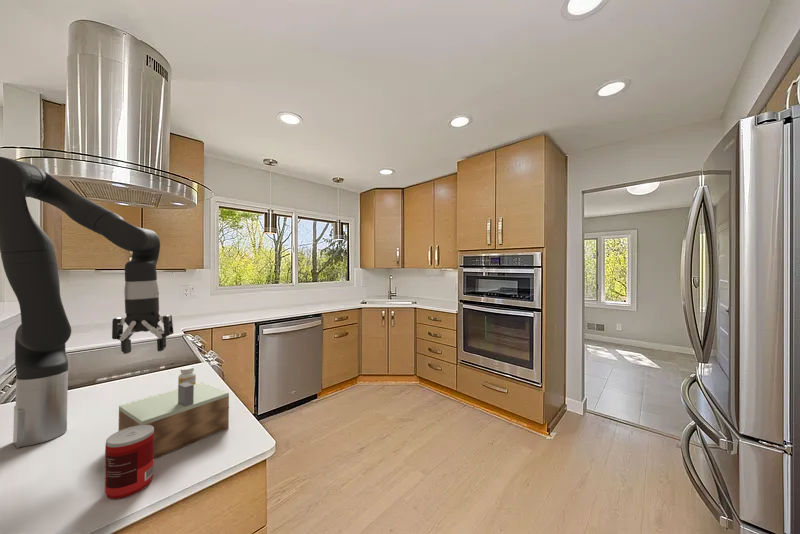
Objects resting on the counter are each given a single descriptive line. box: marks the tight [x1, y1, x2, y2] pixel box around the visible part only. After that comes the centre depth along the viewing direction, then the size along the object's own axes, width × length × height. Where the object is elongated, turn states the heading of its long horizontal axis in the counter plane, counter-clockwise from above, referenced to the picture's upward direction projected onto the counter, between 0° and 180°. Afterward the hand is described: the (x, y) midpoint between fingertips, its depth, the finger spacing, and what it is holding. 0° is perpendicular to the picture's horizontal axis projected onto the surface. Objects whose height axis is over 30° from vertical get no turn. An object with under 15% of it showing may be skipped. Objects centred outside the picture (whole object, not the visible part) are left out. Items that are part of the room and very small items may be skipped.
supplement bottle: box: [177, 366, 197, 385], centre depth 113 cm, size 5×5×10 cm
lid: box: [118, 382, 230, 425], centre depth 83 cm, size 20×16×6 cm
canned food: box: [104, 425, 155, 500], centre depth 63 cm, size 8×8×11 cm
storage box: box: [118, 395, 230, 461], centre depth 83 cm, size 20×16×9 cm
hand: (144, 351), depth 88 cm, fingers open, 8 cm apart
